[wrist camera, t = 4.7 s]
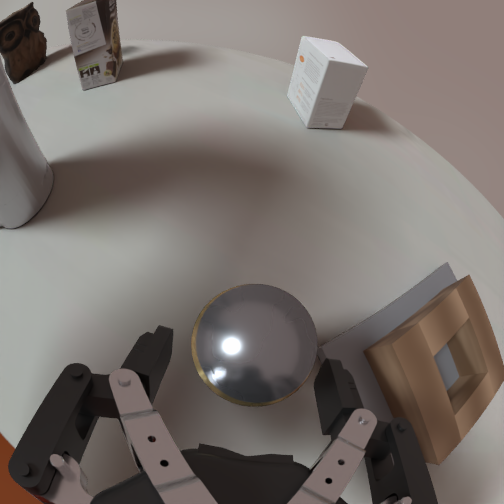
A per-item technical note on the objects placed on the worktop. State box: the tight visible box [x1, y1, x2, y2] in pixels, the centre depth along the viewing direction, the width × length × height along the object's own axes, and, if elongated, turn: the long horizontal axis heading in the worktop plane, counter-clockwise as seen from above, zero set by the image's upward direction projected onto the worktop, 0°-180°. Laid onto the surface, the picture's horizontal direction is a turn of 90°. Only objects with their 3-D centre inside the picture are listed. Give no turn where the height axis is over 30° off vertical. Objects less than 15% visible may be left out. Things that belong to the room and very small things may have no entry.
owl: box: [0, 2, 47, 84], centre depth 28 cm, size 13×13×20 cm
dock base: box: [317, 262, 459, 465], centre depth 19 cm, size 18×16×2 cm
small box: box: [287, 36, 368, 129], centre depth 29 cm, size 8×6×10 cm
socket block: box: [363, 275, 504, 465], centre depth 17 cm, size 12×12×4 cm
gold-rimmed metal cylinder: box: [191, 284, 318, 406], centre depth 14 cm, size 4×4×12 cm
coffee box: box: [66, 0, 123, 90], centre depth 27 cm, size 9×6×16 cm
